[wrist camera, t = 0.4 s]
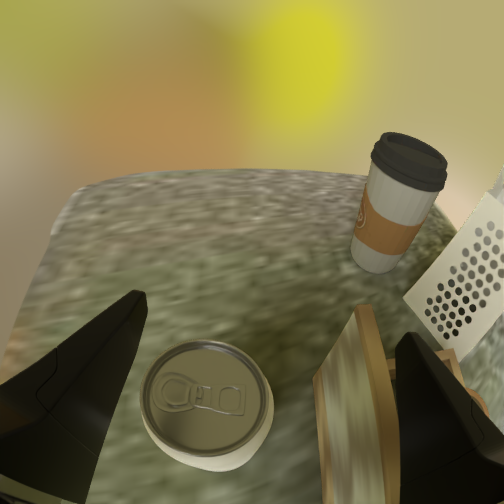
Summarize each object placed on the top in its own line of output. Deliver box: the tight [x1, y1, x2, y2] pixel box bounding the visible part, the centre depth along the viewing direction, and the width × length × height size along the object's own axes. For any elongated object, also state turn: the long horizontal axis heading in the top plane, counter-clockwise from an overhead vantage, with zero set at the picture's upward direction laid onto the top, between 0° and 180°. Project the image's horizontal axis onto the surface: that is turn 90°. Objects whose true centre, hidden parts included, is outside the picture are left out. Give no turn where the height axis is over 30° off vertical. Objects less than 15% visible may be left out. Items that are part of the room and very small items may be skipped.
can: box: [140, 339, 274, 471], centre depth 16 cm, size 6×6×12 cm
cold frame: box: [312, 304, 465, 504], centre depth 14 cm, size 16×14×12 cm
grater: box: [403, 165, 504, 363], centre depth 22 cm, size 10×10×20 cm
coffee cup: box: [350, 132, 447, 274], centre depth 29 cm, size 8×8×15 cm
